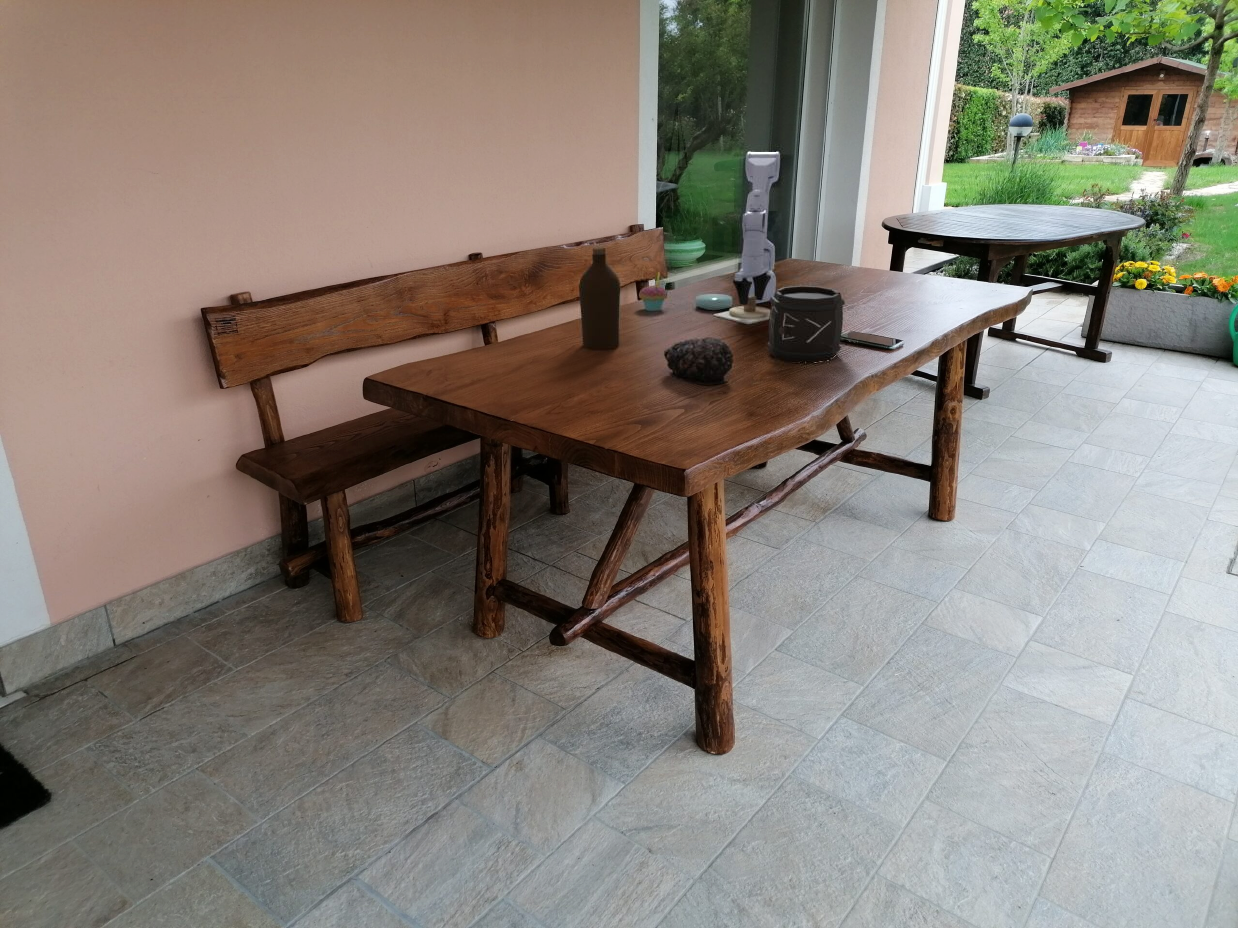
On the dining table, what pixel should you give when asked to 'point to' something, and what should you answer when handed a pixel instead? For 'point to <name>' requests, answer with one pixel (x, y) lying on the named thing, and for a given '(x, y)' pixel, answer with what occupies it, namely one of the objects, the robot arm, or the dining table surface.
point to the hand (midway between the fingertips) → (751, 302)
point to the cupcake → (653, 296)
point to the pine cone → (700, 360)
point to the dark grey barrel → (805, 323)
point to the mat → (742, 320)
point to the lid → (749, 310)
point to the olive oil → (600, 304)
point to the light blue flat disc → (713, 301)
